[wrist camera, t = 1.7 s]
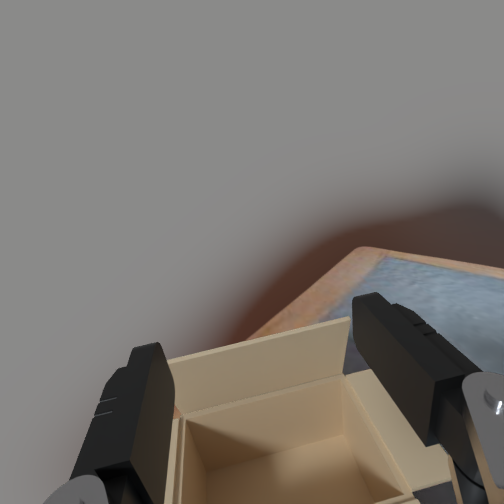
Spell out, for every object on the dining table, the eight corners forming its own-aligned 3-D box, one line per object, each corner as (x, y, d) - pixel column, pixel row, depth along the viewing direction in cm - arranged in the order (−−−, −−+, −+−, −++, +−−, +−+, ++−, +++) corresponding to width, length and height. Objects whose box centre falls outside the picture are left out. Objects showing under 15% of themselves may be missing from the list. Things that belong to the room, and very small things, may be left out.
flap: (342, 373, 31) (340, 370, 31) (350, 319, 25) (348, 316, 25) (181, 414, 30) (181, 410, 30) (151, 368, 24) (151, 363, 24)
